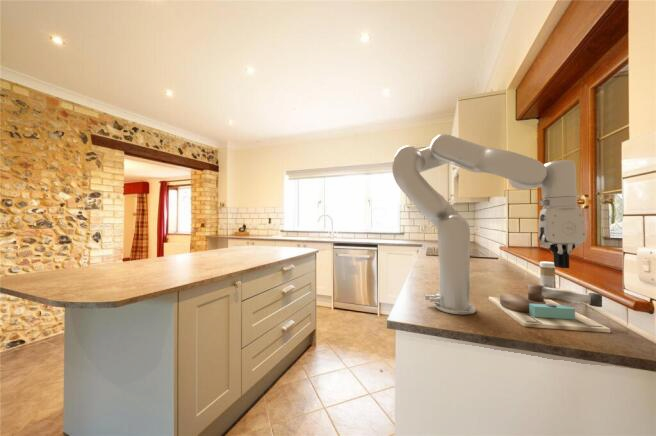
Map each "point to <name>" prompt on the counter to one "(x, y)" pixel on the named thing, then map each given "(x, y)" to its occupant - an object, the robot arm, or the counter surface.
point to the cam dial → (539, 291)
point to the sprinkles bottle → (548, 275)
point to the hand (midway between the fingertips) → (561, 267)
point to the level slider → (552, 311)
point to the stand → (552, 319)
